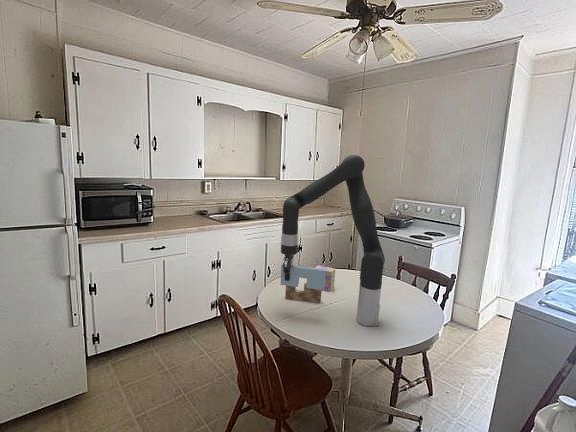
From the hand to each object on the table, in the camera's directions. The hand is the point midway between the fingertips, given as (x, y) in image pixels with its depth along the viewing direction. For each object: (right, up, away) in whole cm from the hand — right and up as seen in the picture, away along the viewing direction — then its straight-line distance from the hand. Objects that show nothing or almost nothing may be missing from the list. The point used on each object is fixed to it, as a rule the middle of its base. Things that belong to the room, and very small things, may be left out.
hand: (287, 279), depth 142 cm
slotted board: (+8, -14, +16) cm, 22 cm away
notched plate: (+7, -3, -1) cm, 7 cm away
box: (+20, -12, +32) cm, 39 cm away
